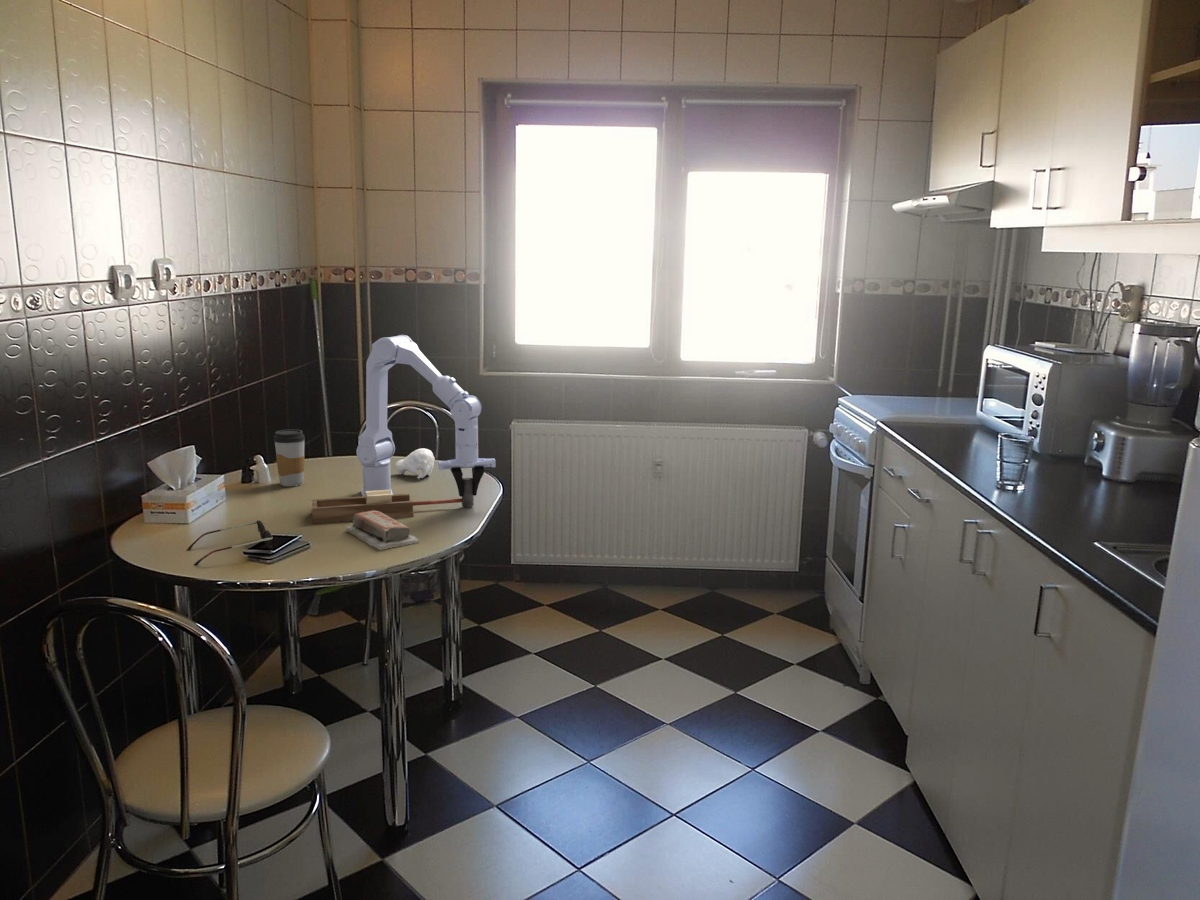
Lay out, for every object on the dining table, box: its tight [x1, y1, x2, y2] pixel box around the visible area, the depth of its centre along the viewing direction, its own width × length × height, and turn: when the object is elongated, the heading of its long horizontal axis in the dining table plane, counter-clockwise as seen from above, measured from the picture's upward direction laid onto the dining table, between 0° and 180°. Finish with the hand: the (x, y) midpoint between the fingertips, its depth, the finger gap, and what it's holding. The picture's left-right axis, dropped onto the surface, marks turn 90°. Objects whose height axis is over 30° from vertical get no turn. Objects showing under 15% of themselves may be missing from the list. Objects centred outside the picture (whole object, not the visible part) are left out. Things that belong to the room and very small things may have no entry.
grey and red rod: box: [366, 477, 475, 508], centre depth 230 cm, size 5×27×7 cm, turn 108°
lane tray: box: [311, 493, 414, 524], centre depth 226 cm, size 10×24×4 cm, turn 108°
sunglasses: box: [186, 520, 274, 566], centre depth 197 cm, size 14×16×5 cm
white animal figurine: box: [394, 447, 436, 479], centre depth 264 cm, size 6×8×12 cm
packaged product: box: [346, 510, 420, 551], centre depth 209 cm, size 18×5×10 cm
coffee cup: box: [273, 428, 306, 487], centre depth 251 cm, size 8×8×15 cm
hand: (467, 495), depth 233 cm, fingers closed on grey and red rod, 3 cm apart
